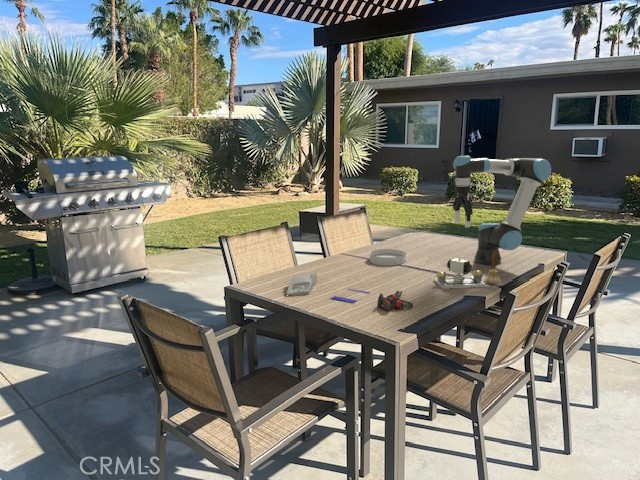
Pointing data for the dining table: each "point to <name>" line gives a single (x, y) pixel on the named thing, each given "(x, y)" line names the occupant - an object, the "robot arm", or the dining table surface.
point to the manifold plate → (467, 283)
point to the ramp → (302, 284)
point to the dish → (387, 257)
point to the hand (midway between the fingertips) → (462, 224)
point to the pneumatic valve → (459, 268)
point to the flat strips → (348, 299)
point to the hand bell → (493, 271)
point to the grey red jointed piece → (392, 301)
